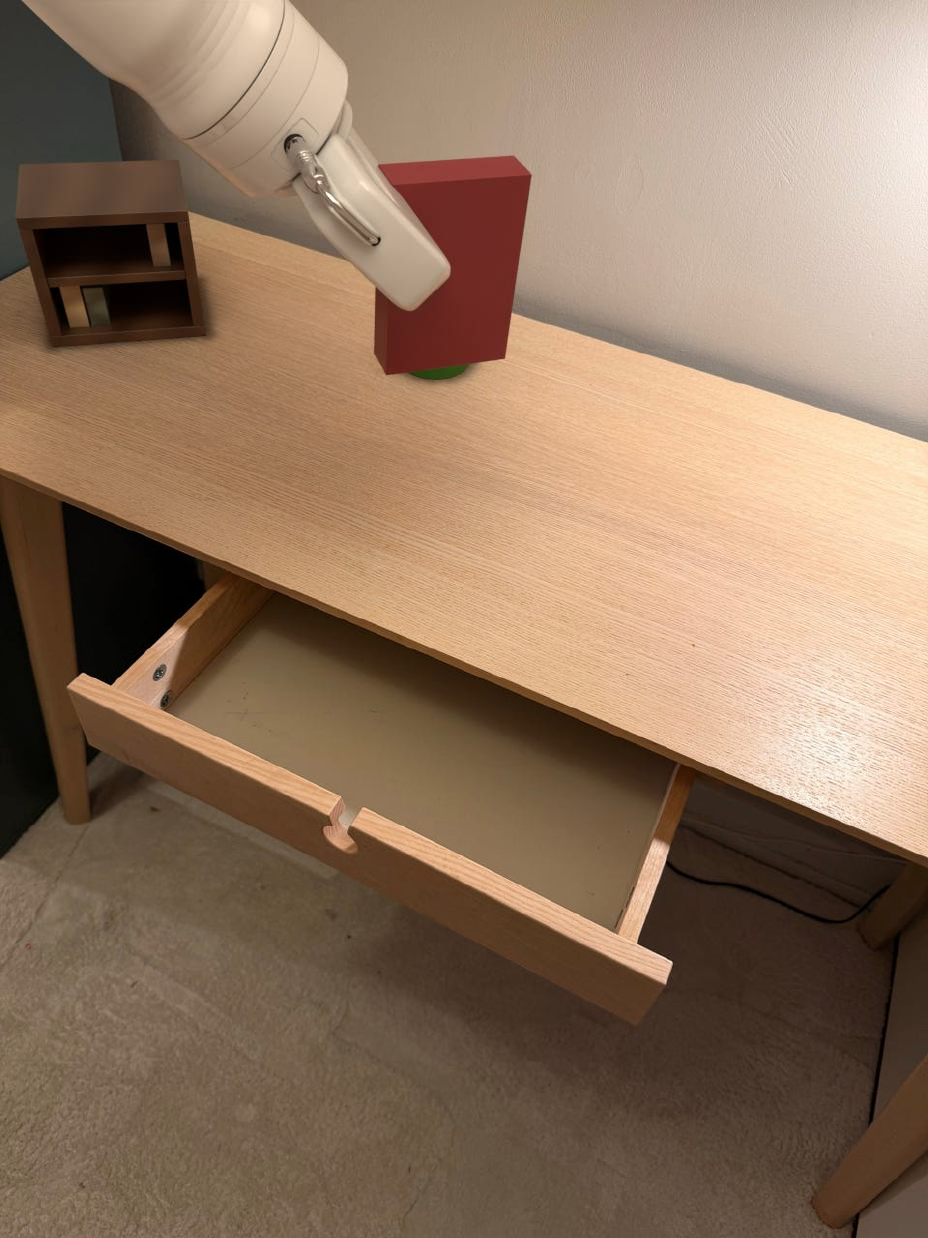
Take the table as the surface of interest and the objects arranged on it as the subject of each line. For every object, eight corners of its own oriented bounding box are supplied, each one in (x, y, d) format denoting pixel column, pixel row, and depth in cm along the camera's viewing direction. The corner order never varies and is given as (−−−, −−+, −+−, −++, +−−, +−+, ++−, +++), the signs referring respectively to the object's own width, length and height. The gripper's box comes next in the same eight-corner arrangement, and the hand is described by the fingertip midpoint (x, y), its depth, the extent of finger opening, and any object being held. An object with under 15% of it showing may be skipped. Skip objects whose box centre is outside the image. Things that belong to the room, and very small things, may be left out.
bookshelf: (52, 346, 97) (15, 217, 87) (54, 289, 105) (19, 163, 94) (206, 335, 101) (187, 210, 91) (197, 280, 109) (179, 159, 98)
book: (385, 375, 63) (392, 184, 53) (373, 353, 64) (377, 163, 55) (505, 358, 65) (532, 173, 56) (490, 338, 67) (514, 154, 57)
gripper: (365, 138, 42) (528, 309, 52) (263, -3, 54) (411, 158, 64) (275, 241, 44) (449, 386, 54) (196, 82, 56) (350, 226, 66)
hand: (428, 261), depth 59 cm, fingers closed on book, 3 cm apart
